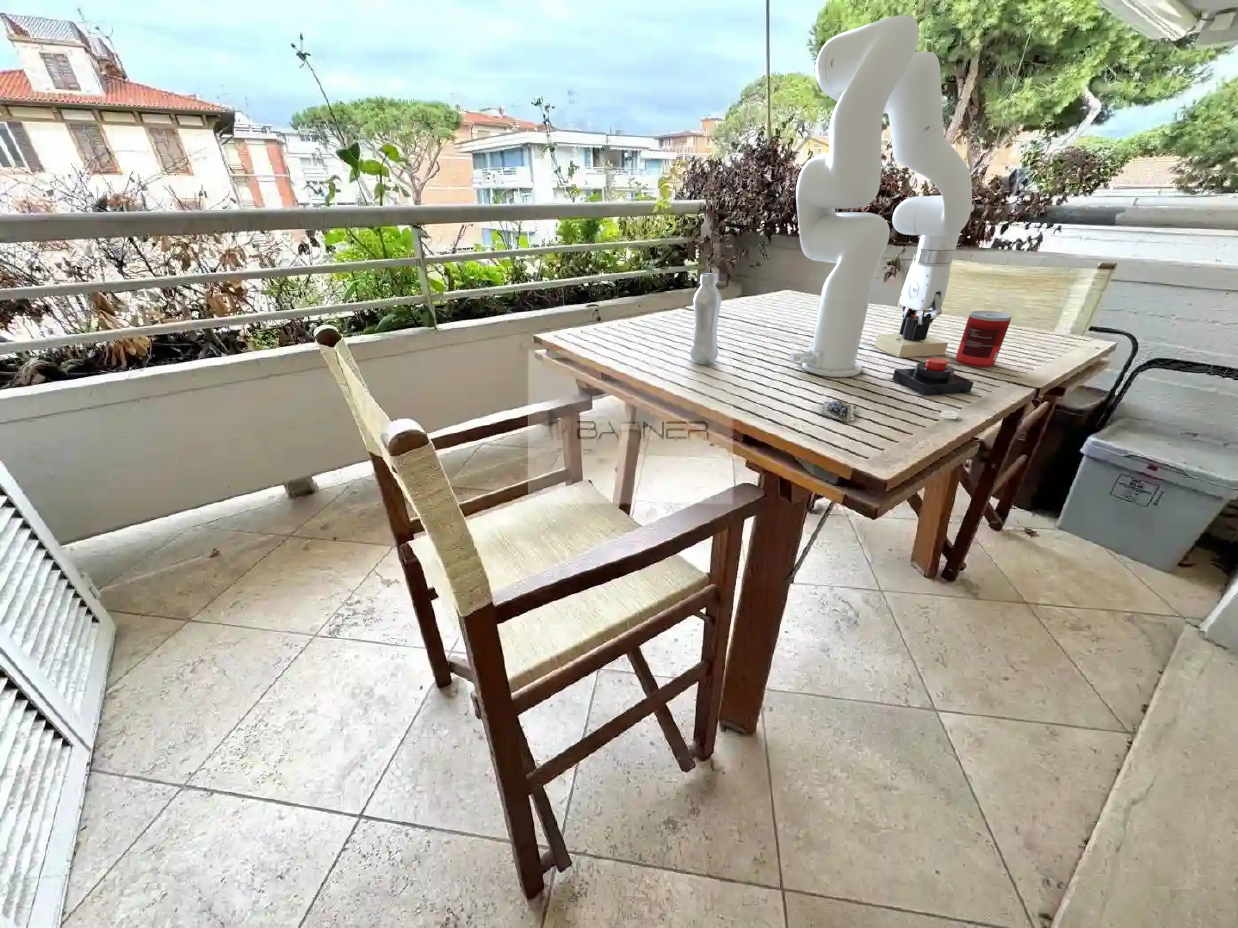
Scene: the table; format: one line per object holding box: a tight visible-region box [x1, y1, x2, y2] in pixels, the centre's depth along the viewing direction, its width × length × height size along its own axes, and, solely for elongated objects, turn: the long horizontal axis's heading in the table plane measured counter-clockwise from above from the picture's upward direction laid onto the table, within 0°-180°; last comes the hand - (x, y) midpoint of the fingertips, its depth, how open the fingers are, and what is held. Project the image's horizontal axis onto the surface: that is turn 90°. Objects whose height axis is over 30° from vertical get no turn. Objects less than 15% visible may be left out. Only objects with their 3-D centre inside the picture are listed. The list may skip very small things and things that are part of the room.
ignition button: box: [925, 357, 949, 370], centre depth 97 cm, size 4×4×2 cm
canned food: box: [955, 310, 1013, 369], centre depth 109 cm, size 8×8×11 cm
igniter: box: [892, 361, 975, 397], centre depth 98 cm, size 10×10×4 cm
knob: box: [902, 315, 919, 341], centre depth 118 cm, size 4×4×5 cm
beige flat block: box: [874, 333, 949, 358], centre depth 120 cm, size 12×10×3 cm
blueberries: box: [821, 400, 857, 423], centre depth 87 cm, size 7×8×2 cm
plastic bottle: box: [689, 272, 723, 365], centre depth 111 cm, size 6×7×20 cm
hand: (912, 336), depth 119 cm, fingers closed on knob, 4 cm apart
